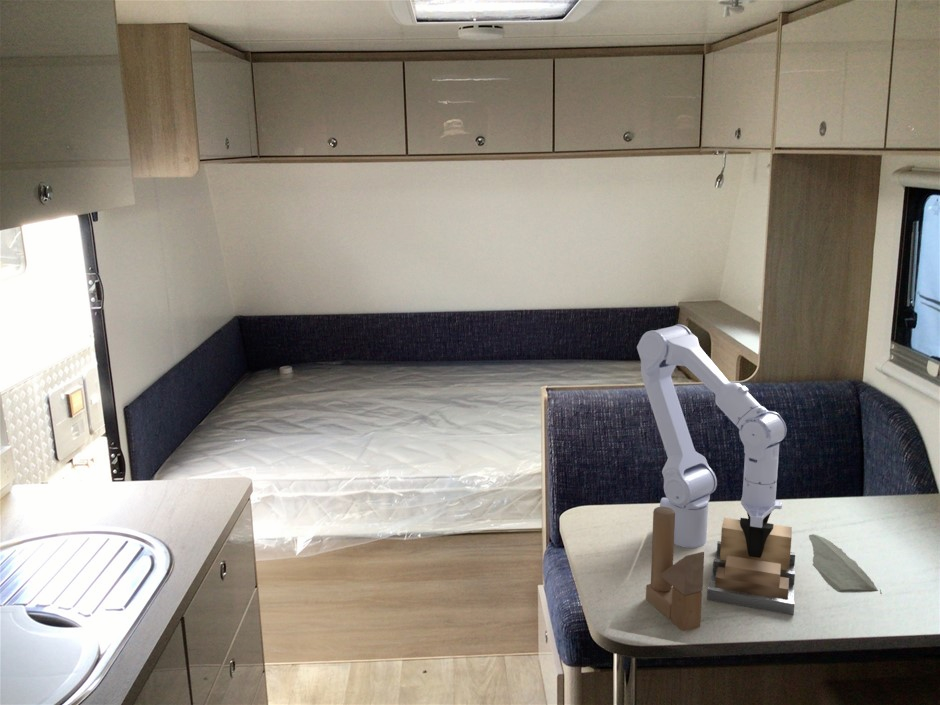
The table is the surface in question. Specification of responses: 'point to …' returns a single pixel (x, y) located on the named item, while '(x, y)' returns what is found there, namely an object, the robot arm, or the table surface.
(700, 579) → the wooden block
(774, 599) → the rack
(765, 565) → the walnut offcut upper
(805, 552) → the table surface
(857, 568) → the stone slab
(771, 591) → the walnut offcut lower
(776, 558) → the oak board
